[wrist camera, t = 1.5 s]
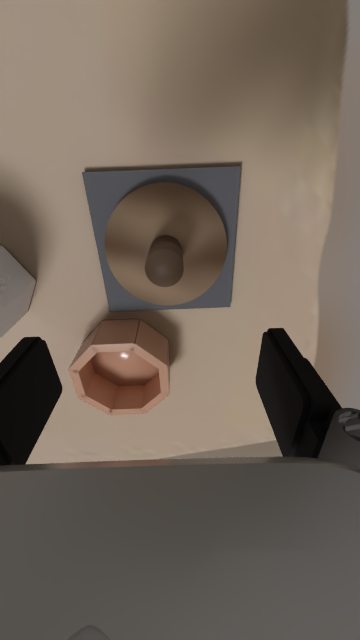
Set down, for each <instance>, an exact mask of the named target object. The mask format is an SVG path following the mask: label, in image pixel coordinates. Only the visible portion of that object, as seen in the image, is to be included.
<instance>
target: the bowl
mask: <svg viewBox="0 0 360 640" xmlns="http://www.w3.org/2000/svg"><path fill="white" fill-rule="evenodd" d="M69 373H70V376H71V379H72V382H73V385H74V388H75V391H76V394H77V397H78V398H79V399H80V400H82V401H84V402H86V403H88V404H90V405H92V406H93V407H95V408H97V409H99V410H101V411H103V412H105V413H107V414H108V415H109V414H110V415H125V414H145V413H147V412H148V411H150V410H151V409H152V408H153V407H155V406H156V405H157V404H158V403H160V402H161V401H162V400H163V399H165V398H166V397H167V396H169V393H170V358H169V344H168V339H167V338H165V337H164V336H163V335H161V334H160V333H159V332H157V331H156V330H154V329H153V328H152V327H150V326H149V325H148V324H146V323H145V322H144V321H142V320H140V319H126V320H103V321H102V322H101V323H100V324H99V325H98V326H97V327H96V328H95V329H94V331H93V332H92V333H91V334H90V335H89V336H88V337H87V338H86V339H85V341H84V342H83V343H82V345H81V347H80V348H79V350H78V352H77V354H76V356H75V358H74V360H73V362H72V364H71V365H70V367H69Z"/></svg>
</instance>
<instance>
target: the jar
mask: <svg viewBox="0 0 360 640" xmlns="http://www.w3.org/2000/svg"><path fill="white" fill-rule="evenodd" d="M35 283H36V280H35V279H34V278H33V277H32V276H31V275H30V274H29V273H28V272H27V271H26V270H25V269H24V268H23V267H22V265H21V264H20V263H19V262H18V261H17V260H16V259H15V258H14V257H13V256H12V255H11V254H10V253H9V252H8V251H7V250H6V249H5V248H4V247H3V246H0V338H1V337H2V336H3V335H4V334H6V333H7V332H8V331H9V330H10V329H11V328H12V327H13V326H14V325H15V324H16V323H17V322H18V321H19V320H20V319H21V318H22V317H23V316H24V315H25V314H26V313H27V312H28V309H29V305H30V302H31V298H32V294H33V291H34V287H35Z"/></svg>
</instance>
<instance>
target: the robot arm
mask: <svg viewBox="0 0 360 640" xmlns="http://www.w3.org/2000/svg"><path fill="white" fill-rule="evenodd" d="M256 386H257V389H258V392H259V394H260V397H261V400H262V402H263V405H264V408H265V410H266V413H267V416H268V418H269V421H270V424H271V426H272V429H273V431H274V434H275V437H276V439H277V442H278V445H279V447H280V450H281V453H282V455H283V457H228V458H192V459H160V460H130V461H102V462H75V463H50V464H26V462H27V460H28V458H29V456H30V454H31V452H32V450H33V448H34V446H35V444H36V442H37V440H38V438H39V436H40V434H41V432H42V430H43V428H44V426H45V424H46V423H47V421H48V419H49V417H50V415H51V413H52V411H53V409H54V407H55V405H56V403H57V401H58V399H59V397H60V395H61V393H62V385H61V382H60V379H59V377H58V374H57V371H56V368H55V366H54V363H53V360H52V358H51V355H50V352H49V349H48V347H47V344H46V342H45V341H44V340H42V339H41V338H40V337H24V338H23V339H22V340H21V341H20V342H19V343H18V344H17V345H16V346H15V347H14V348H13V349H12V351H11V352H10V353H9V354H8V355H7V356H6V357H5V358H4V359H3V360H2V361H1V363H0V640H360V410H358V409H353V408H341V406H340V405H339V403H338V402H337V400H336V399H335V397H334V396H333V395H332V393H331V392H330V390H329V389H328V387H327V386H326V385H325V383H324V382H323V380H322V379H321V378H320V376H319V375H318V374H317V372H316V371H315V369H314V368H313V366H312V365H311V363H310V362H309V361H308V360H307V359H306V358H303V356H302V355H301V353H300V352H299V350H298V349H297V347H296V346H295V344H294V343H293V342H292V340H291V339H290V337H289V336H288V334H287V333H286V331H285V330H284V329H283V328H269V329H268V331H267V332H264V333H263V337H262V343H261V350H260V356H259V362H258V368H257V374H256ZM25 464H26V465H25Z"/></svg>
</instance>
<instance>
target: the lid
mask: <svg viewBox="0 0 360 640" xmlns="http://www.w3.org/2000/svg"><path fill="white" fill-rule="evenodd" d="M104 246H105V254H106V258H107V262H108V265H109V267H110V270H111V271H112V273H113V275H114V277H115V278H116V279H117V281H118V282H119V283H120V284H121V285H122V287H123V288H124V289H126V290H127V291H128V292H129V293H131V294H132V295H133V296H135V297H137V298H139V299H141V300H143V301H145V302H148V303H152V304H156V305H168V306H170V305H178V304H183V303H186V302H189V301H191V300H193V299H195V298H197V297H199V296H200V295H202V294H203V293H204V292H206V291H207V290H208V289H209V288H210V287H211V286H212V285H213V284H214V282H215V281H216V280H217V278H218V276H219V275H220V273H221V271H222V268H223V266H224V262H225V259H226V252H227V239H226V232H225V229H224V225H223V223H222V220H221V218H220V216H219V214H218V213H217V211H216V210H215V208H214V207H213V206H212V205H211V203H210V202H209V201H208V200H207V199H206V198H204V197H203V196H202V195H201V194H199V193H198V192H197V191H195V190H193V189H191V188H189V187H187V186H184V185H181V184H177V183H171V182H159V183H152V184H148V185H145V186H143V187H140V188H138V189H136V190H135V191H133V192H131V193H130V194H128V195H127V196H126V197H125V198H124V199H123V200H121V202H120V203H119V204H118V205H117V206H116V208H115V209H114V211H113V212H112V214H111V216H110V218H109V221H108V224H107V227H106V231H105V243H104Z"/></svg>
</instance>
